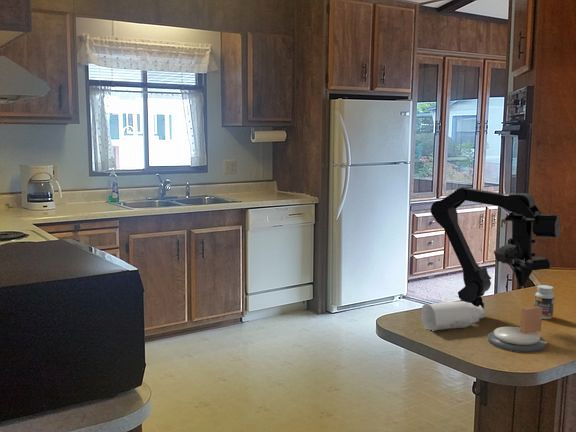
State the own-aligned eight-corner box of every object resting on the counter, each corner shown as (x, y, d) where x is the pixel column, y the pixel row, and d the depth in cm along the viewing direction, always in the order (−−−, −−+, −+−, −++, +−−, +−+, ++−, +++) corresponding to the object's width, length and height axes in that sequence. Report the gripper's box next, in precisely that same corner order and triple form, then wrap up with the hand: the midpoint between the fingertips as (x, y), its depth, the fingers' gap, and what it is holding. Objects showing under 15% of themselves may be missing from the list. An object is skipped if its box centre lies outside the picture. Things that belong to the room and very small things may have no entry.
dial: (515, 347, 164) (517, 318, 162) (484, 333, 174) (486, 306, 173) (555, 340, 169) (556, 312, 168) (522, 327, 180) (524, 301, 179)
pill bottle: (532, 318, 194) (534, 287, 193) (534, 313, 200) (536, 283, 198) (552, 320, 192) (554, 289, 190) (553, 316, 197) (555, 285, 196)
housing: (494, 351, 165) (495, 346, 165) (483, 332, 180) (483, 328, 179) (552, 353, 163) (553, 348, 163) (536, 335, 178) (536, 330, 178)
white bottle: (489, 329, 184) (490, 303, 182) (433, 334, 178) (435, 308, 177) (473, 321, 191) (475, 296, 190) (419, 326, 185) (421, 300, 184)
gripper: (480, 233, 190) (480, 282, 193) (518, 243, 172) (518, 297, 175) (511, 229, 193) (511, 278, 195) (552, 239, 175) (551, 292, 178)
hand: (521, 286), depth 186 cm, fingers closed
